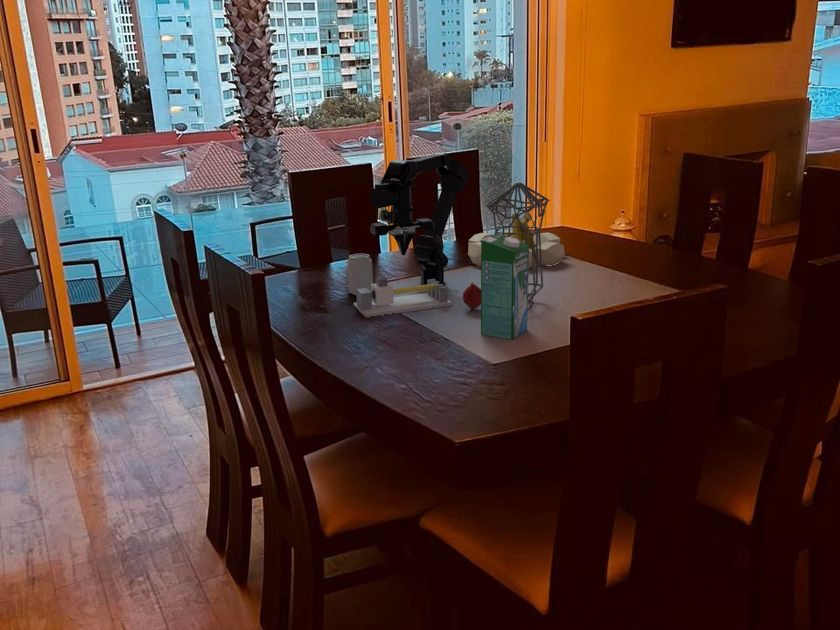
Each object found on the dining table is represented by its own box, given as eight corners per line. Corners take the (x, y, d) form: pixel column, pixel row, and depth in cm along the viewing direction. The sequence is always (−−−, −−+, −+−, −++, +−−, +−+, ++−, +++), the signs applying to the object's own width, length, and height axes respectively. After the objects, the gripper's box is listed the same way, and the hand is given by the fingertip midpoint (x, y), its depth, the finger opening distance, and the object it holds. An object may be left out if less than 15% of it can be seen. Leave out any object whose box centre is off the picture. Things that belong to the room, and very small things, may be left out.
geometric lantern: (484, 309, 216) (483, 185, 206) (498, 295, 230) (498, 179, 220) (539, 313, 211) (541, 186, 201) (550, 299, 225) (552, 179, 215)
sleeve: (387, 298, 222) (387, 275, 219) (393, 303, 217) (392, 279, 215) (371, 300, 220) (370, 277, 218) (377, 305, 215) (376, 281, 213)
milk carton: (512, 340, 191) (514, 242, 184) (480, 334, 196) (480, 239, 188) (527, 329, 199) (529, 235, 191) (496, 324, 203) (497, 232, 195)
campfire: (570, 271, 255) (572, 220, 250) (469, 273, 256) (469, 222, 251) (554, 247, 288) (556, 202, 283) (465, 249, 289) (464, 204, 284)
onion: (485, 307, 218) (485, 280, 215) (480, 313, 213) (480, 285, 210) (466, 305, 220) (465, 279, 217) (460, 311, 215) (460, 284, 212)
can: (369, 297, 231) (368, 258, 227) (345, 296, 232) (343, 257, 228) (376, 290, 237) (374, 252, 234) (352, 289, 239) (350, 252, 235)
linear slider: (435, 294, 231) (435, 275, 229) (451, 305, 220) (451, 285, 218) (353, 306, 222) (352, 286, 220) (366, 317, 211) (365, 296, 210)
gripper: (421, 197, 235) (422, 246, 240) (363, 202, 229) (365, 252, 234) (434, 202, 225) (435, 254, 230) (374, 207, 219) (377, 260, 224)
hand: (403, 255), depth 230 cm, fingers closed
